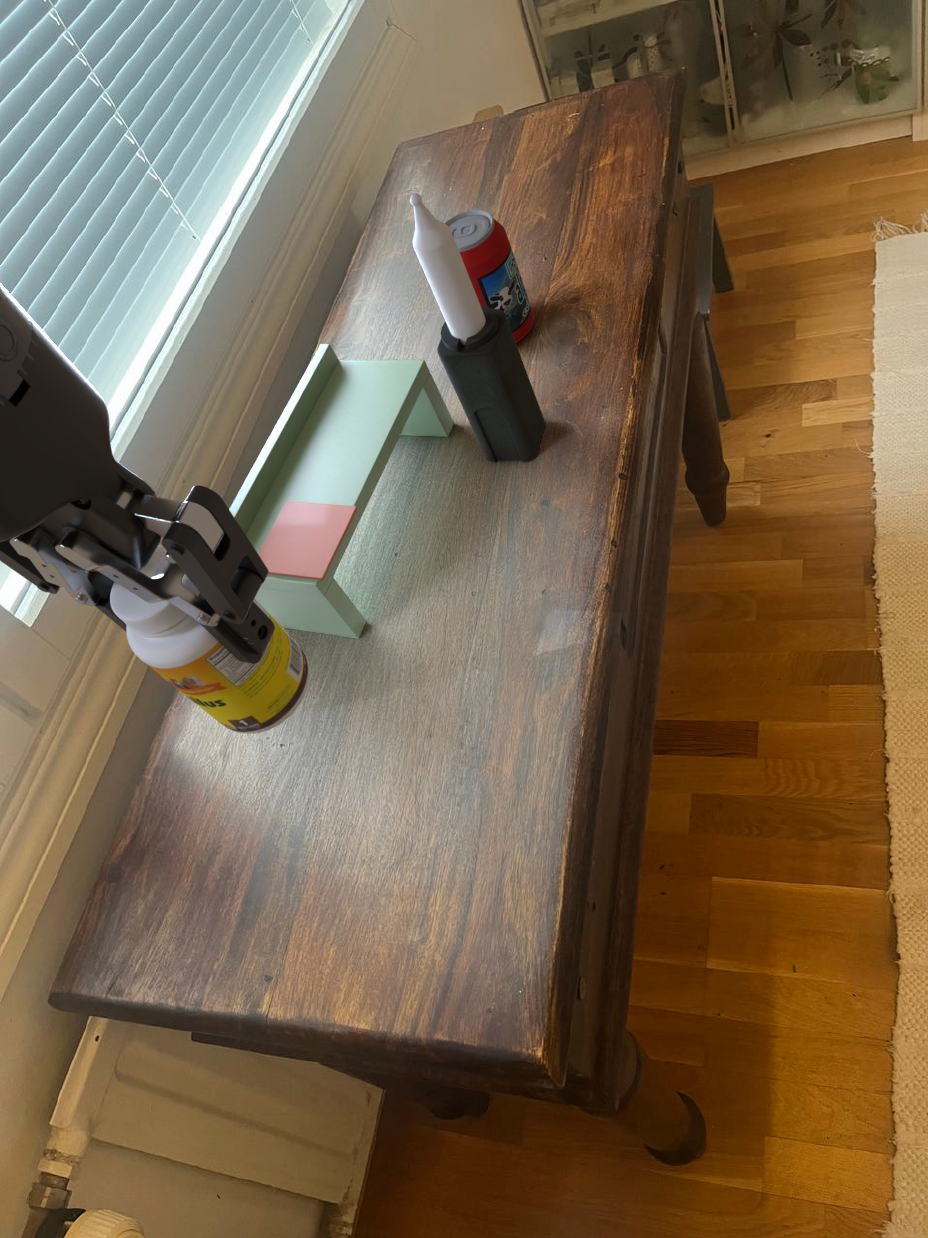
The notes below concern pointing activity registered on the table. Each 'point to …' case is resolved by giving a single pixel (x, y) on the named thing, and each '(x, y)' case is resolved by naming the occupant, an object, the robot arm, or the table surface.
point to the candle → (478, 350)
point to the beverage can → (492, 267)
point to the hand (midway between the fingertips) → (208, 635)
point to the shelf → (329, 479)
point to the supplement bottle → (214, 661)
